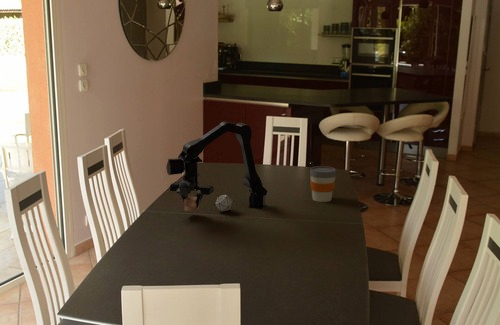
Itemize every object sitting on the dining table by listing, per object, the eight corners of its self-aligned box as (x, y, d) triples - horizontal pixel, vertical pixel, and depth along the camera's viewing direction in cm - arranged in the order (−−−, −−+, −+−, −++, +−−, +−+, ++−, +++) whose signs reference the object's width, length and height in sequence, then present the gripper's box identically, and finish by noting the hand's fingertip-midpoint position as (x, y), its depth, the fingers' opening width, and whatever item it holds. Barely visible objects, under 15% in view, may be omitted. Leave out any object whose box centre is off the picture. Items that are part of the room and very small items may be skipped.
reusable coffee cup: (334, 195, 272) (335, 166, 269) (335, 203, 260) (337, 172, 257) (308, 194, 274) (309, 165, 270) (308, 202, 261) (310, 172, 258)
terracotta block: (199, 208, 243) (199, 197, 242) (194, 211, 238) (194, 200, 237) (189, 207, 245) (188, 196, 243) (184, 210, 240) (184, 199, 239)
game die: (219, 219, 248) (206, 203, 246) (228, 208, 254) (215, 191, 252) (232, 214, 242) (218, 197, 240) (241, 202, 248) (228, 185, 246)
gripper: (163, 175, 233) (164, 210, 237) (203, 179, 227) (204, 215, 231) (174, 168, 243) (175, 202, 247) (214, 172, 237) (214, 207, 241)
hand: (191, 206), depth 241 cm, fingers closed on terracotta block, 5 cm apart
